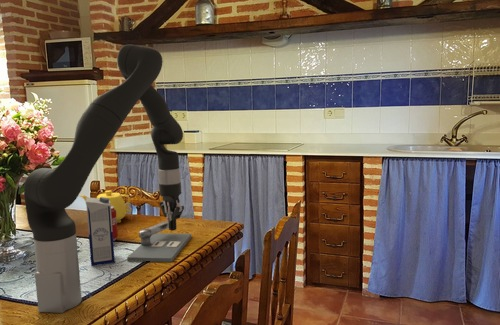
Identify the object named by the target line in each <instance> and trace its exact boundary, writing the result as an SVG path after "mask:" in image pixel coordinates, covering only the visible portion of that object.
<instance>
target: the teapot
mask: <svg viewBox="0 0 500 325" xmlns="http://www.w3.org/2000/svg"><path fill="white" fill-rule="evenodd" d="M78 197H81V198H82V199H83V200H84V202H85V203H86V197H88V196H87V195H82V194H79V195H78ZM100 197H105V198H108V199H109V201H110V204H111V206H113V207H114V209H115V210H116V218H117V224H118V223H122V219H123V218H124V217H125V216H126V214H127V213H129V214H130V213H131V212H132V207H130V206H129V205H130V203H131V198H130V196H129V194H121V193H119V192H113V190H111V189H110V190H105V191H104V192H103V193H100V194H98V195H97V196H96V198H98V199H100ZM124 197H125V198H126V199H127V202H125V200H124Z"/></svg>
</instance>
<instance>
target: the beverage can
mask: <svg viewBox="0 0 500 325" xmlns="http://www.w3.org/2000/svg"><path fill="white" fill-rule="evenodd" d="M111 217H112V231H113V242H114V241H116V240H117V239H118V236H119V233H118V232H119V231H118V223H117V218H116V210H115V209H114V207H113V206H111Z"/></svg>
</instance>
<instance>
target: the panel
mask: <svg viewBox="0 0 500 325" xmlns="http://www.w3.org/2000/svg"><path fill="white" fill-rule="evenodd" d="M192 236H193V235H192V233H171V232H170V233H168V232H167V233H165V232H164V233H163V232H158V233H156V234H154V235H152V236H151V237H149V238H140V241H141V242H140V243H141V244H140V245H139V246H138V247H137V248H136V249H135V250H134V251H132V252H131V253H130V254H129V255H128V256H127V259H126V260H127V262H146V261H150V262H152V263H172V262H173V261H174V260H175V258H176V257H177V256H178V255H179V254H180V252H181V251H182V249H183V248H184V247H185V245H187V243H188V242H189V241H190V240H191V238H192Z"/></svg>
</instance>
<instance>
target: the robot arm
mask: <svg viewBox="0 0 500 325" xmlns="http://www.w3.org/2000/svg"><path fill="white" fill-rule="evenodd" d="M163 62H164V60H163V56H162V54H161V53H160V52H159V51H158V50H156V49H154V48H151V47H147V46H141V45H137V44H136V45H135V44H124V45H123V46H122V47H121V48H120V49H119V51H118V53H117V57H116V63H117V68H118V70H119V72H120V74H121V75H122V77H123V78H124V79H125V81H123V82H121V83H120V84H119V85H117V86H115V87H112V88H111V89H109V90H108V91H106V92H103V93H102V94H100V95H99V96H97V97H95V99H93V100H92V101H91V102H90V103H89V105H88V106H87V108H86V109H85V111H83V113H82V114H81V116H80V118H79V120H78V122H77V124H76V127H75V132H74V139H73V144H72V146H71V148H70V149H69V151H68V153H66V156H65V157H64V158H63V160H62V161H61V162H60V163H59V164H58V166H56V168H49V167H41V168H40V167H39V168H38V169H35V170H33V171H31V172H30V173H29V175H28V176H27V177H26V179H25V183H24V188H23V197H24V204H25V211H26V218H27V223H28V227H29V228H30V230H31V231H32V235H33V247H34V255H35V256H34V257H35V268H36V269H35V270H36V272H35V273H34V281H35V290H36V300H37V310H38V311H37V312H39V313H59V314H63V313H64V312H65V311H67V310H70V309H72V308H75V307H77V306H78V305H79V304H80V303H81V302H82V299H83V298H82V288H81V287H82V285H81V276H80V265H79V254H78V253H79V250H78V240H77V228H76V223H75V221H74V220H73V218H72V217H70V216H69V214H68V213H67V211H66V209H67V208H68V207H70V206H72V204H73V203H74V202H75V201H76V200H77V198H78V197H79V195H80V193H81V192H82V190H83V188H84V186H85V184H86V182H87V180H88V178H89V176H90V174H91V173H92V170H94V167H95V165H96V163H97V162H98V161H99V159H100V158H101V156H102V154H103V153H104V151H105V150H106V149H107V147H108V145H109V144H110V142H111V141H112V140H113V138H114V137H115V135H116V134H117V132H118V131H119V129H120V128H121V126H122V125H123V123H124V121H125V120H126V118H127V117H128V116H129V114H130V112H131V111H132V110H133V108H134V107H135V106H136V104H137V103H138V101H140V103H141V105H142V107H143V109H144V111H145V113H146V115H147V117H148V120H149V122H150V124H151V125H152V128H151V131H150V136H151V140H152V143H153V146H154V149H155V152H156V155H157V161H158V174H157V175H158V190H159V191H158V193H159V196H161V197H162V201H160V202H159V203H158V205H159V207H160V210H161V212H162V214H163V217H164V218H166V220H168V223H169V228H168V231H171V232H172V231H176V230H177V220H178V219H181V216H182V214H183V212H184V210H185V207H184V205H181V204H180V202H181V200H180V197H179V196H181V194H182V182H181V180H182V179H181V172H180V171H181V170H180V160H179V159H180V156H179V153H178V152H177V151H173V150H169V149H167V148H166V147H165V145H178V144H180V143H181V142H182V141H183V137H184V131H183V128H182V126H181V125H180V124H179V122H178V121H177V119H175V117H174V116H173V114H172V113H171V112H170V109H169V106H168V103H167V102H166V100H165V98H164V97H163V96H162V94H161V93H160V92H159V91H158V90H157V89H156V88H155V86H153V83H154V82H155V81H156V79H158V76H159V74H160V73H161V71H162V67H163Z"/></svg>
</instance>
